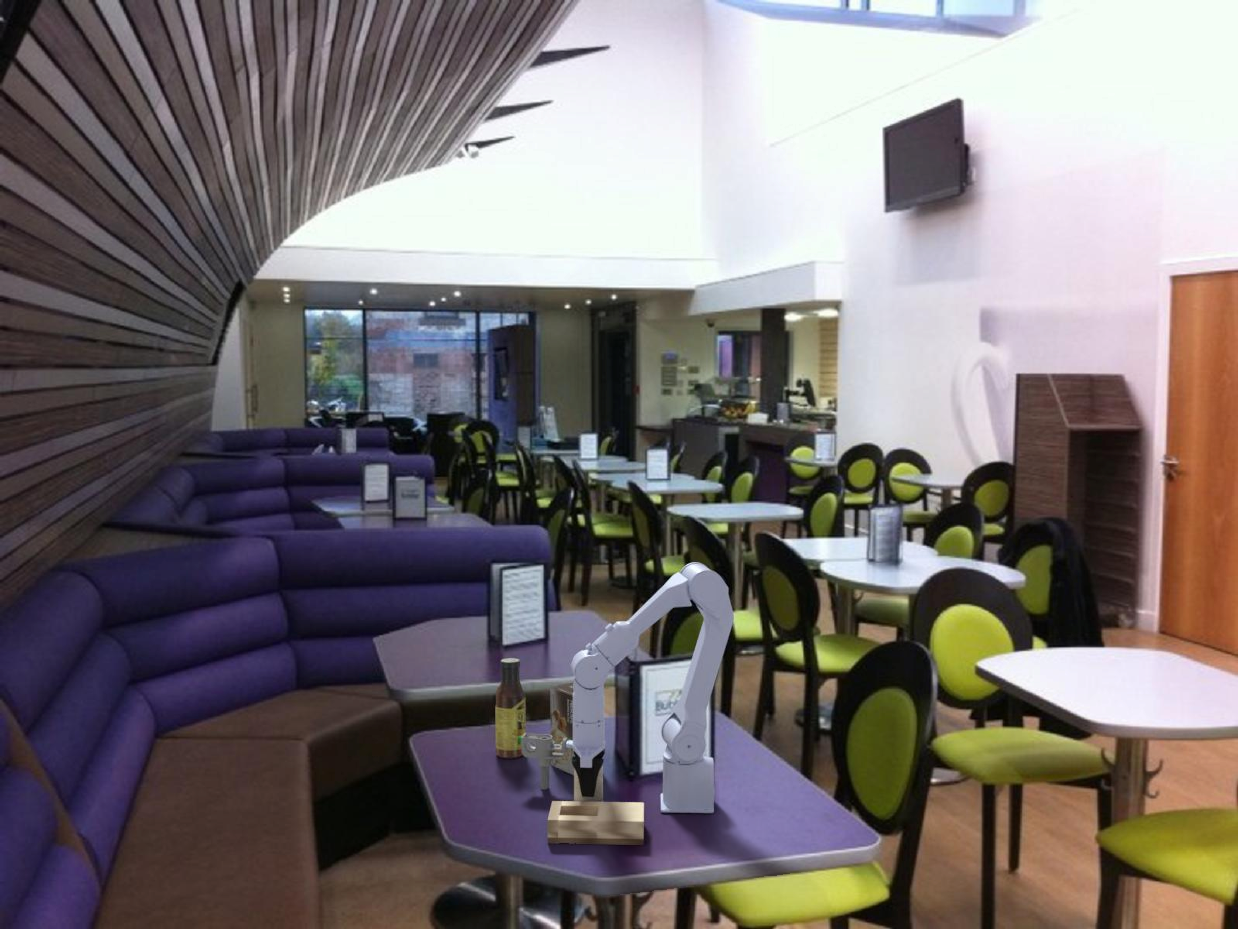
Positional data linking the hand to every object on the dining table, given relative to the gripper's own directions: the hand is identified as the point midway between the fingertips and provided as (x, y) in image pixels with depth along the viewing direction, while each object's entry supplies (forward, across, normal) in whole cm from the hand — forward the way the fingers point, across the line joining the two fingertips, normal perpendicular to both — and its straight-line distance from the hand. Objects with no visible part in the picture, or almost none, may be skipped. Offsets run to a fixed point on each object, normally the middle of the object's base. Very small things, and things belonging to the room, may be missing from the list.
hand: (588, 792), depth 185 cm
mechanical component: (+4, -10, -9) cm, 14 cm away
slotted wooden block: (+3, +10, +2) cm, 10 cm away
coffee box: (+4, -22, -4) cm, 22 cm away
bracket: (+3, 0, 0) cm, 3 cm away
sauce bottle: (+4, -28, -18) cm, 34 cm away
